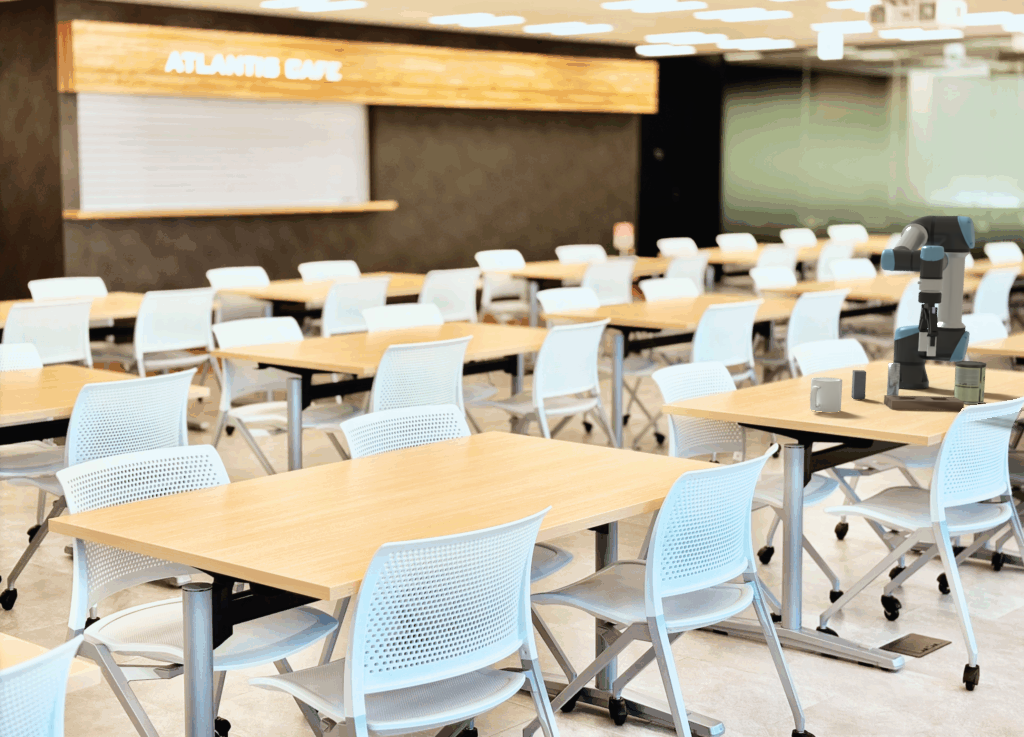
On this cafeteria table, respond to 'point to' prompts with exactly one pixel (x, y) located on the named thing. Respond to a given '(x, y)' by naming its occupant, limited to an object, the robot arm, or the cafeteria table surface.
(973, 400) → the coffee can
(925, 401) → the socket block
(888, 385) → the grey cylinder
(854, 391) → the square bit
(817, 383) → the mug
